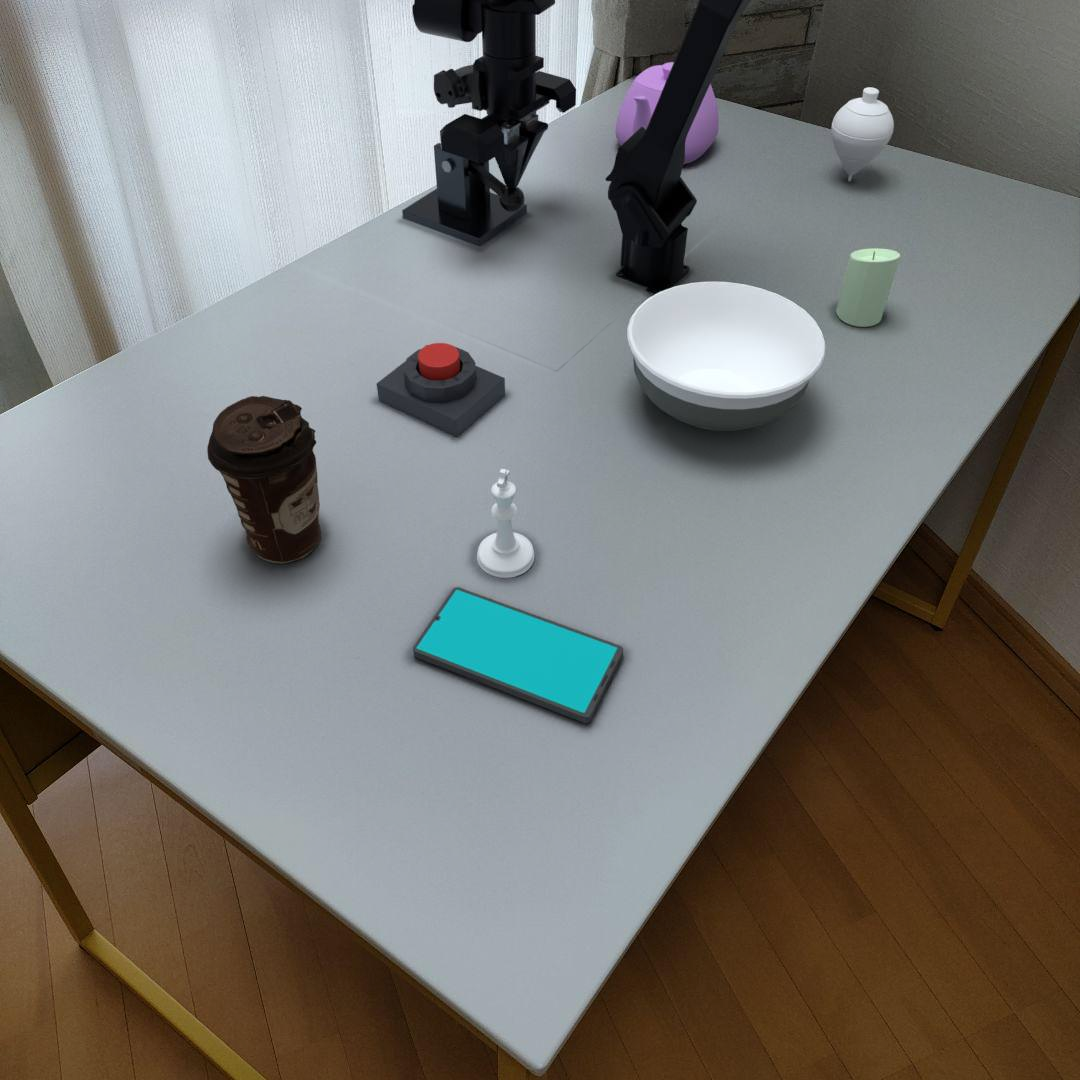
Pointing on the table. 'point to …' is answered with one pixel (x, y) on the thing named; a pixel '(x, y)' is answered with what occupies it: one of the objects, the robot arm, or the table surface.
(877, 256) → the candle
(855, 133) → the spinning top
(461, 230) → the lever bracket
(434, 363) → the red button
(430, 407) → the control block
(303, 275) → the table surface
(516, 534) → the chess piece
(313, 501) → the coffee cup
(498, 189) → the black lever
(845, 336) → the table surface
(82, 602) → the table surface
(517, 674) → the smartphone
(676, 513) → the table surface
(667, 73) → the teapot
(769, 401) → the bowl
